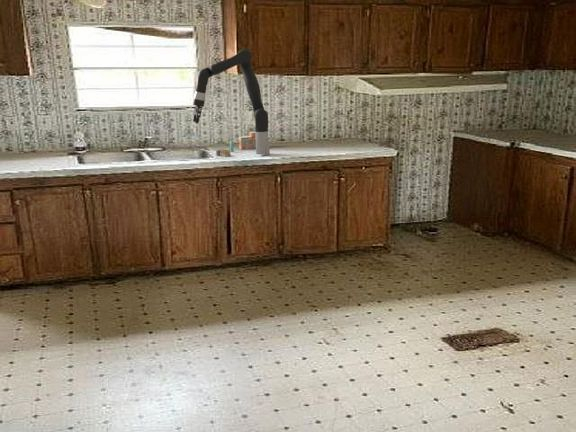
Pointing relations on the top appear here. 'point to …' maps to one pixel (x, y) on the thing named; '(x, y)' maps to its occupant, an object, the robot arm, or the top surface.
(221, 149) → the board with wall
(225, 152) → the block
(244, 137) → the stack of blocks
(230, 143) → the dowel
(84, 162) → the top surface
